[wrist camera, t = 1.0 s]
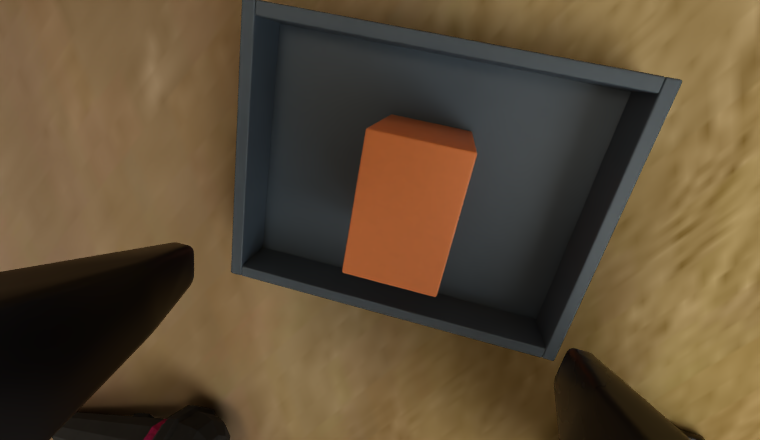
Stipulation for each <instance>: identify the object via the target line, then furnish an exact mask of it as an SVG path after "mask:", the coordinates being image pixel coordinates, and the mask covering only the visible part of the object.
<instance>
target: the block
mask: <svg viewBox="0 0 760 440" xmlns="http://www.w3.org/2000/svg"><path fill="white" fill-rule="evenodd" d="M476 157H477V151H476V147H475V143H474V138H473V134H472V132H471V131H467V130H463V129H458V128H453V127H449V126H444V125H439V124H435V123H430V122H425V121H421V120H416V119H411V118H407V117H402V116H397V115H393V114H392V115H389V116H388V117H386V118H384V119H382V120H381V121H379V122H377V123H375V124H373V125H372V126H370V127H368V128H367V129H366V131H365V137H364V143H363V149H362V155H361V161H360V167H359V173H358V179H357V184H356V190H355V196H354V202H353V208H352V214H351V220H350V226H349V232H348V238H347V244H346V250H345V256H344V262H343V268H342V272H343V273H346V274H350V275H353V276H357V277H361V278H365V279H369V280H372V281H376V282H380V283H384V284H387V285H391V286H395V287H399V288H402V289H406V290H410V291H414V292H417V293H421V294H425V295H429V296H433V297H436V296H437V293H438V290H439V286H440V283H441V279H442V276H443V272H444V269H445V265H446V262H447V258H448V255H449V251H450V248H451V244H452V241H453V237H454V234H455V230H456V227H457V223H458V220H459V216H460V213H461V209H462V206H463V202H464V199H465V195H466V192H467V188H468V185H469V181H470V178H471V174H472V171H473V167H474V164H475V160H476Z"/></svg>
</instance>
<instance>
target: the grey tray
mask: <svg viewBox="0 0 760 440" xmlns="http://www.w3.org/2000/svg"><path fill="white" fill-rule="evenodd" d="M681 84H682V80H680V79H674V78H669V77H664V76H659V75H653V74H648V73H643V72H637V71H632V70H627V69H621V68H616V67H611V66H606V65H600V64H595V63H590V62H584V61H579V60H574V59H569V58H563V57H558V56H553V55H547V54H542V53H537V52H531V51H526V50H521V49H516V48H510V47H505V46H500V45H494V44H489V43H484V42H479V41H473V40H468V39H463V38H457V37H452V36H447V35H441V34H436V33H431V32H426V31H420V30H415V29H410V28H404V27H399V26H394V25H389V24H383V23H378V22H373V21H367V20H362V19H357V18H351V17H346V16H341V15H336V14H330V13H325V12H320V11H314V10H309V9H304V8H298V7H293V6H288V5H283V4H277V3H272V2H267V1H261V0H242V15H241V39H240V64H239V89H238V114H237V139H236V163H235V188H234V213H233V238H232V263H231V272H232V273H235V274H238V275H241V274H242V276H246V277H250V278H253V279H257V280H261V281H264V282H268V283H272V284H275V285H279V286H282V287H286V288H290V289H293V290H297V291H301V292H304V293H308V294H312V295H315V296H319V297H322V298H326V299H330V300H333V301H337V302H341V303H344V304H348V305H352V306H355V307H359V308H363V309H366V310H370V311H373V312H377V313H381V314H384V315H388V316H392V317H395V318H399V319H403V320H406V321H410V322H414V323H417V324H421V325H424V326H428V327H432V328H435V329H439V330H443V331H446V332H450V333H454V334H457V335H461V336H464V337H468V338H472V339H475V340H479V341H483V342H486V343H490V344H494V345H497V346H501V347H505V348H508V349H512V350H515V351H519V352H523V353H526V354H530V355H534V356H537V357H542V358H545V359H548V360H552V361H554V360H555V358H556V355H557V353H558V351H559V349H560V347H561V344H562V342H563V340H564V338H565V336H566V334H567V331H568V329H569V327H570V325H571V323H572V321H573V318H574V316H575V314H576V312H577V310H578V308H579V305H580V303H581V301H582V299H583V297H584V294H585V292H586V290H587V288H588V286H589V284H590V281H591V279H592V277H593V275H594V273H595V271H596V268H597V266H598V264H599V262H600V260H601V257H602V255H603V253H604V251H605V249H606V247H607V244H608V242H609V240H610V238H611V236H612V234H613V231H614V229H615V227H616V225H617V223H618V221H619V218H620V216H621V214H622V212H623V210H624V207H625V205H626V203H627V201H628V199H629V197H630V194H631V192H632V190H633V188H634V186H635V184H636V181H637V179H638V177H639V175H640V173H641V171H642V168H643V166H644V164H645V162H646V160H647V157H648V155H649V153H650V151H651V149H652V147H653V144H654V142H655V140H656V138H657V136H658V134H659V131H660V129H661V127H662V125H663V123H664V120H665V118H666V116H667V114H668V112H669V110H670V107H671V105H672V103H673V101H674V99H675V97H676V94H677V92H678V90H679V88H680V86H681ZM392 114H393V115H397V116H402V117H407V118H411V119H416V120H421V121H425V122H430V123H435V124H439V125H444V126H449V127H453V128H458V129H463V130H467V131H471V132H472V134H473V138H474V143H475V147H476V151H477V157H476V160H475V164H474V167H473V171H472V174H471V178H470V181H469V185H468V188H467V192H466V195H465V199H464V202H463V206H462V209H461V213H460V216H459V220H458V223H457V227H456V230H455V234H454V237H453V241H452V244H451V248H450V251H449V255H448V258H447V262H446V265H445V269H444V272H443V276H442V279H441V283H440V286H439V290H438V293H437V296H436V297H433V296H429V295H425V294H421V293H417V292H414V291H410V290H406V289H402V288H399V287H395V286H391V285H387V284H384V283H380V282H376V281H372V280H369V279H365V278H361V277H357V276H353V275H350V274H346V273H343V272H342V268H343V262H344V256H345V250H346V244H347V238H348V232H349V226H350V220H351V214H352V208H353V202H354V196H355V190H356V184H357V179H358V173H359V167H360V161H361V155H362V149H363V143H364V137H365V131H366V129H367V128H368V127H370V126H372V125H373V124H375V123H377V122H379V121H381V120H382V119H384V118H386V117H388V116H389V115H392Z"/></svg>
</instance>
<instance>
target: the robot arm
mask: <svg viewBox="0 0 760 440" xmlns="http://www.w3.org/2000/svg"><path fill="white" fill-rule="evenodd" d="M193 278H194V251H193V249H192V247H191V246H188V245H184V244H181V243H176V242H174V243H168V244H162V245H156V246H150V247H144V248H138V249H132V250H127V251H121V252H115V253H109V254H103V255H97V256H91V257H85V258H79V259H74V260H68V261H62V262H56V263H50V264H44V265H38V266H32V267H27V268H21V269H15V270H9V271H3V272H0V440H49V439H50V438H51V437H52V436H53V435H54V434H55V433H56V432H57V431H58V430H59V429H60V428H61V427H62V426H63V425H64V424H65V423H66V422H67V421H68V420H69V419H70V418H71V417H72V416H73V415H74V414H75V413H76V412H77V411H78V410H79V409H80V407H81V406H82V405H83V404H84V403H85V402H86V401H87V400H88V399H89V398H90V397H91V396H92V395H93V394H94V393H95V392H96V391H97V390H98V389H99V388H100V387H101V386H102V385H103V384H104V383H105V382H106V381H107V380H108V379H109V378H110V377H111V375H112V374H113V373H114V372H115V371H116V370H117V369H118V368H119V367H120V366H121V365H122V364H123V363H124V362H125V361H126V360H127V359H128V358H129V357H130V356H131V355H132V354H133V353H134V352H135V351H136V350H137V349H138V348H139V347H140V346H141V345H142V343H143V342H144V341H145V340H146V339H147V338H148V337H149V336H150V335H151V334H152V333H153V331H154V330H155V329H156V328H157V327H158V326H159V324H160V323H161V322H162V321H163V319H164V318H165V317H166V315H167V314H168V313H169V312H170V310H171V309H172V308H173V307H174V305H175V304H176V303H177V302H178V300H179V299H180V298H181V297H182V295H183V294H184V293H185V292H186V290H187V289H188V288H189V287H190V285H191V283H192V281H193ZM554 391H555V401H556V411H557V421H558V430H559V440H705V439H704V438H703V437H702V436H700V435H696V434H693V433H689V432H686V431H682V430H679V429H678V428H677V427H676V426H675V425H673V424H672V423H671V422H670V421H669V420H668V419H667V418H665V417H664V416H663V415H662V414H661V413H660V412H658V411H657V410H656V409H655V408H654V407H653V406H652V405H650V404H649V403H648V402H647V401H646V400H645V399H643V398H642V397H641V396H640V395H639V394H638V393H637V392H635V391H634V390H633V389H632V388H631V387H630V386H628V385H627V384H626V383H625V382H624V381H623V380H622V379H620V378H619V377H618V376H617V375H616V374H615V373H613V372H612V371H611V370H610V369H609V368H608V367H607V366H605V365H604V364H603V363H602V362H601V361H600V360H598V359H597V358H596V357H595V356H594V355H593V354H591V353H589V352H586V351H582V350H579V349H575V348H571V349H569V350H568V351H567V353H566V355H565V357H564V359H563V361H562V363H561V365H560V368H559V370H558V372H557V374H556V376H555V381H554Z"/></svg>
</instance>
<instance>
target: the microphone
mask: <svg viewBox="0 0 760 440" xmlns="http://www.w3.org/2000/svg"><path fill="white" fill-rule="evenodd" d="M52 438H53V440H230V435H229V432H228V430H227V427H226V425H225V423H224V422H223V421H222V420H221V419H220V418H219V417H217V416H216V415H215V413H214V410H212V409H208V408H204V407H199V406H191V405H188V406H187V407H185V408H183V409H182V410H180V411H178V412H177V413H175V414H174V415H172V416H170V417H169V418H167V419H163V418H154V417H153V416H152V415H151V414H145V413H136V414H134V415H133V416H120V415H106V414H92V413H78V412H76V413H75V414H74V415H73V416H72V417H71V418H70V419H69V420H68V421H67V422H66V423H65V424H64V425H63V426H62V427H61V428H60V429H59V430H58V431H57V432H56V433H55V434H54V435H53V436H52Z"/></svg>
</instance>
